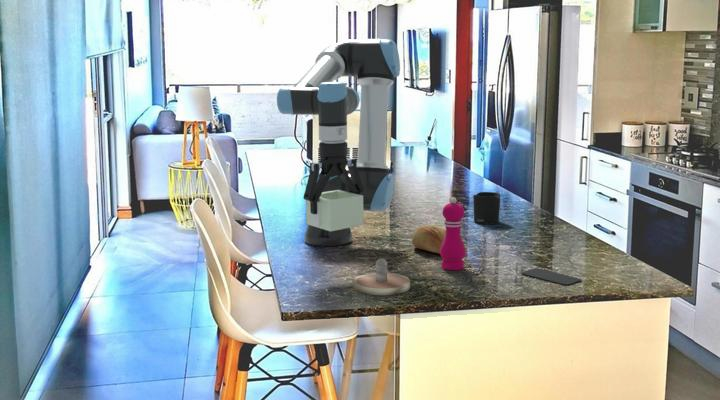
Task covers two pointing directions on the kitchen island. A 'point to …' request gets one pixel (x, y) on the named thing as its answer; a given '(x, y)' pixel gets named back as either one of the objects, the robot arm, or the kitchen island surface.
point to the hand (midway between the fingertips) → (334, 222)
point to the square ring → (338, 210)
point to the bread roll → (429, 238)
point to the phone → (551, 276)
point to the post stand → (381, 281)
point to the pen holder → (486, 207)
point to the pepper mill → (453, 237)
